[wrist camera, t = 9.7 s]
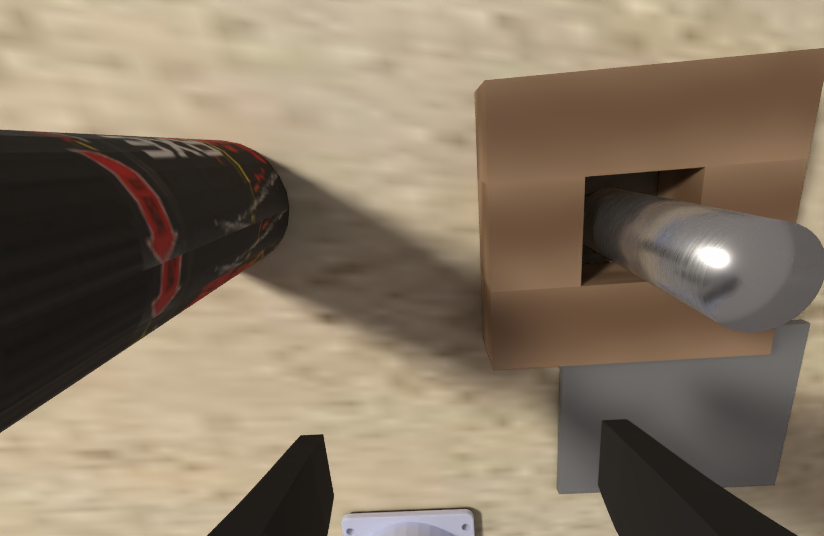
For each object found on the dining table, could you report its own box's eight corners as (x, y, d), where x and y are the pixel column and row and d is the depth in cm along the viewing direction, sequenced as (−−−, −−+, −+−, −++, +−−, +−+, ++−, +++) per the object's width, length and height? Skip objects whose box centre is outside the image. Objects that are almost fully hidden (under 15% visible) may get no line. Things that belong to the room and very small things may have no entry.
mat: (768, 479, 23) (774, 485, 22) (556, 488, 23) (559, 494, 23) (802, 320, 20) (810, 323, 19) (560, 334, 20) (563, 338, 20)
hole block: (720, 324, 20) (770, 354, 17) (483, 339, 21) (493, 370, 18) (759, 65, 17) (830, 47, 14) (474, 92, 17) (484, 80, 14)
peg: (639, 244, 19) (820, 323, 10) (576, 255, 19) (701, 340, 11) (638, 182, 18) (832, 211, 10) (572, 194, 18) (703, 232, 10)
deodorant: (286, 143, 18) (-241, 119, 4) (291, 267, 20) (-57, 575, 5) (159, 137, 18) (-834, 88, 4) (175, 261, 20) (-472, 548, 6)
